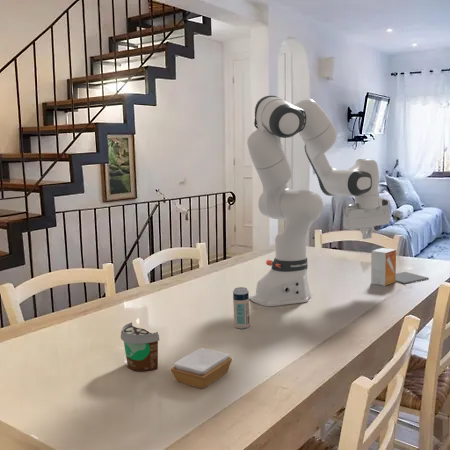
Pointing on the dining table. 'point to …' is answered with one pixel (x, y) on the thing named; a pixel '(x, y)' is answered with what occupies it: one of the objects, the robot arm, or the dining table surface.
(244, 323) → the supplement bottle
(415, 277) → the mat
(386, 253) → the small box
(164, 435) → the dining table surface
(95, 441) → the dining table surface
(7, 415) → the dining table surface
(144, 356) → the food container
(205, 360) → the soap dish
